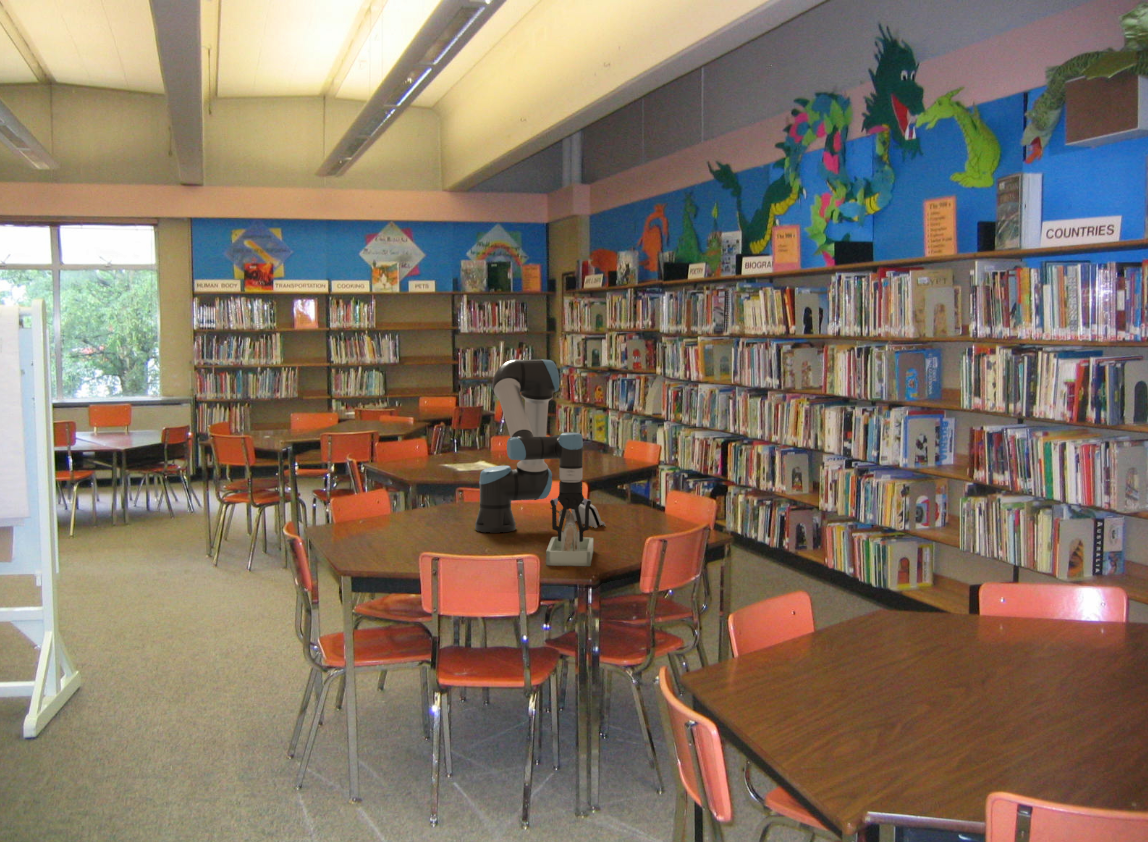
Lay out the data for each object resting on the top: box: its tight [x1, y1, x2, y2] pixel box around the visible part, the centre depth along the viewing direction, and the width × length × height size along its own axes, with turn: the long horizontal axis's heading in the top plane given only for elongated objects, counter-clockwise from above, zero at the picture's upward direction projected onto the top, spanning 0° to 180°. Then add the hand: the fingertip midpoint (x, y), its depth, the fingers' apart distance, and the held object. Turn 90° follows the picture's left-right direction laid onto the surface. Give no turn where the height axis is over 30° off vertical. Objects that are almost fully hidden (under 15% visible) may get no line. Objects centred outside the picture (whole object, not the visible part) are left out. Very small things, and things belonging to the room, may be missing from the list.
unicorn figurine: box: [549, 507, 578, 551], centre depth 317 cm, size 7×20×13 cm, turn 16°
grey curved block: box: [570, 501, 607, 529], centre depth 374 cm, size 17×5×10 cm, turn 29°
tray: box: [545, 536, 594, 567], centre depth 317 cm, size 14×22×4 cm, turn 176°
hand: (570, 551), depth 318 cm, fingers closed on unicorn figurine, 4 cm apart
